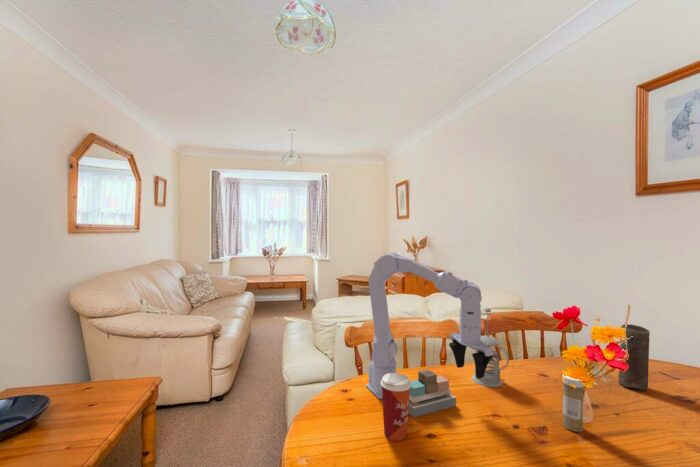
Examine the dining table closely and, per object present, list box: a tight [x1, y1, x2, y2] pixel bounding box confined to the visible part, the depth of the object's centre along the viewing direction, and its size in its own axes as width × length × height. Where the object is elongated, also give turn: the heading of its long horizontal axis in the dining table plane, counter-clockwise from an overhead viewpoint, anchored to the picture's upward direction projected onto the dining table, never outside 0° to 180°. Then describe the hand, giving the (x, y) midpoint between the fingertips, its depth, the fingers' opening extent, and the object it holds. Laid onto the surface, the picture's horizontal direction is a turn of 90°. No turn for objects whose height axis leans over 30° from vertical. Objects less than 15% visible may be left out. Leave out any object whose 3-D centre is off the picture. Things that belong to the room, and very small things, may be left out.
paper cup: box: [381, 372, 411, 442], centre depth 81 cm, size 8×8×14 cm
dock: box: [408, 393, 457, 418], centre depth 95 cm, size 8×15×3 cm, turn 114°
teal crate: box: [410, 379, 425, 397], centre depth 93 cm, size 4×4×2 cm
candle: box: [618, 323, 650, 391], centre depth 107 cm, size 8×7×20 cm
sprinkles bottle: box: [562, 374, 585, 433], centre depth 84 cm, size 5×5×14 cm
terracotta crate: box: [436, 374, 450, 391], centre depth 96 cm, size 4×4×2 cm
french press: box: [471, 307, 510, 388], centre depth 110 cm, size 10×12×25 cm
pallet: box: [409, 369, 452, 405], centre depth 95 cm, size 5×13×7 cm, turn 114°
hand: (469, 372), depth 93 cm, fingers open, 7 cm apart
